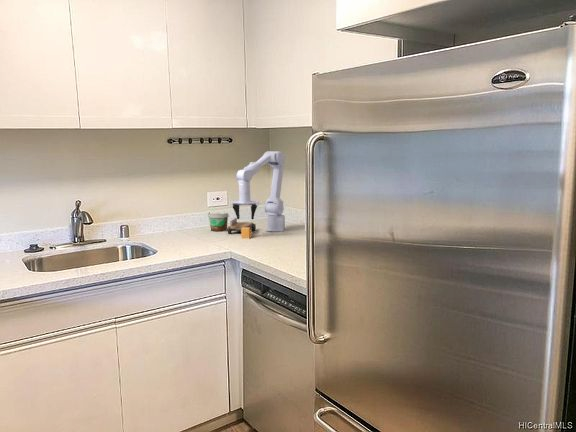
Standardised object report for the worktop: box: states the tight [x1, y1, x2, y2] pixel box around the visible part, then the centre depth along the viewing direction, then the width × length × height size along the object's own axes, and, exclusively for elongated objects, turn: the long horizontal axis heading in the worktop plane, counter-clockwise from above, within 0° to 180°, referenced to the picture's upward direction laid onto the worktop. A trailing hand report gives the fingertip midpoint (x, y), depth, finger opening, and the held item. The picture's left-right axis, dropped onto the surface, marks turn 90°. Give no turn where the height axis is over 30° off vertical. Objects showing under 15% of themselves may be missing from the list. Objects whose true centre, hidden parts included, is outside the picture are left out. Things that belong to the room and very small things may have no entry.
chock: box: [240, 228, 254, 239], centre depth 243 cm, size 4×8×5 cm, turn 171°
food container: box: [207, 212, 230, 233], centre depth 258 cm, size 12×6×10 cm, turn 73°
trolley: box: [227, 217, 257, 235], centre depth 254 cm, size 13×13×7 cm
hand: (245, 218), depth 240 cm, fingers open, 7 cm apart
